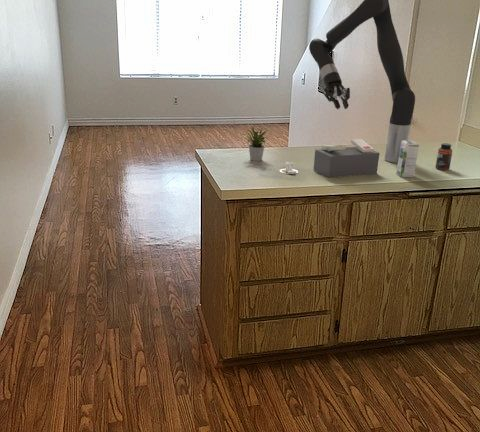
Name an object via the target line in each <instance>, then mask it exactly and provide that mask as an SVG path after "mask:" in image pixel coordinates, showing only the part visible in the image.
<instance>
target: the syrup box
mask: <svg viewBox="0 0 480 432" xmlns="http://www.w3.org/2000/svg"><path fill="white" fill-rule="evenodd" d="M419 147H420V144H419V143H418V142H416V141H415V140H409V139H408V140H404V141H402V142H401V148H400V154H399V160H398V163H397V166H396V167H397V168H396V175H398V176H399V177H400V178H414V176H415V171H416V167H417V166H416V165H417V160H418V153H419Z"/></svg>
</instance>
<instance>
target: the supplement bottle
mask: <svg viewBox="0 0 480 432" xmlns="http://www.w3.org/2000/svg"><path fill="white" fill-rule="evenodd" d="M451 147H452V144H450V143H448V142H443V143H442V142H441V146H440V147H439V148H438V149H437V155H436V161H435V162H436V163H435V169H437V170H439V171H448V170H450V167H451V162H452V157H453V150H452V148H451Z"/></svg>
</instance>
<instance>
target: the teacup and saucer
mask: <svg viewBox="0 0 480 432" xmlns="http://www.w3.org/2000/svg"><path fill="white" fill-rule="evenodd" d="M293 165H294V163H293V162H291V161H285V165H284V167H285V168H281V169H279V173H282V174H287V175H296V174H298V173H299V171H298V170H297V169H294V168H293ZM282 170H283V171H282ZM284 171H285V172H284Z"/></svg>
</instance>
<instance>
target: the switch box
mask: <svg viewBox="0 0 480 432" xmlns="http://www.w3.org/2000/svg"><path fill="white" fill-rule="evenodd" d="M379 158H380V152H378V151H376V150H375V149H374V150H373V152H365V153H363V152H362V151H360V150H359V149H356V148H355V146H347V147H346V149H340V150H339V151H327V149H322V148H318V149H316V148H315V151H314V160H313V171H315V172H316V173H318V174H320V175H322V176H324V177H325V178H328V179H331V178H334V179H335V178H342V177H343V178H344V177H354V176H361V175H362V176H363V175H375V174H377V173H378V169H379V168H378V167H379V160H380V159H379Z"/></svg>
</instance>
